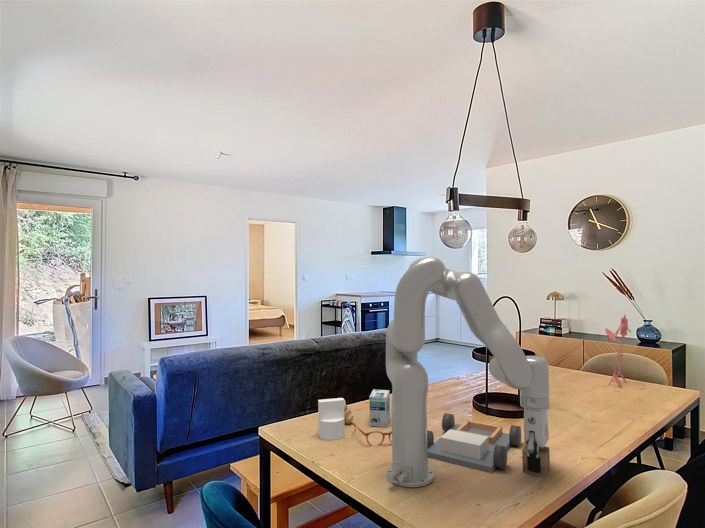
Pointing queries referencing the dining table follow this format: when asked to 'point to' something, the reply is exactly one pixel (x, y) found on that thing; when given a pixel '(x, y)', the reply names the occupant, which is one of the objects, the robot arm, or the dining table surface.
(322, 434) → the cylinder with rectangular tab
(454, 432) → the toy car chassis
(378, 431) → the red eyeglasses
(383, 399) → the light bulb box
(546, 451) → the brown rectangular block
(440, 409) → the dining table surface
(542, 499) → the dining table surface
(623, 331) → the pink coral sprig
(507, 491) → the dining table surface
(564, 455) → the dining table surface
